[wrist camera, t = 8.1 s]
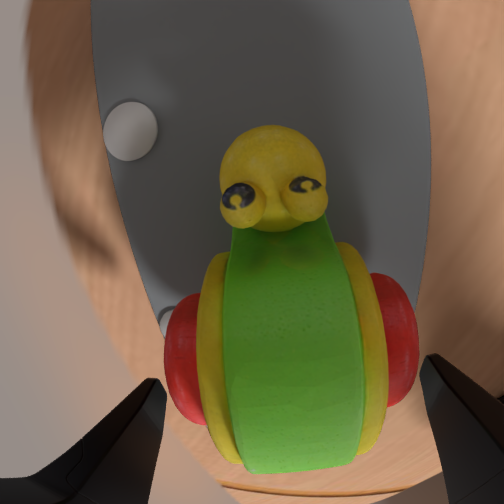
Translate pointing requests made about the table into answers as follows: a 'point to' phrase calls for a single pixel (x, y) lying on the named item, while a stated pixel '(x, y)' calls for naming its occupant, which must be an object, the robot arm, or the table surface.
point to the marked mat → (262, 123)
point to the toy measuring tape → (288, 322)
